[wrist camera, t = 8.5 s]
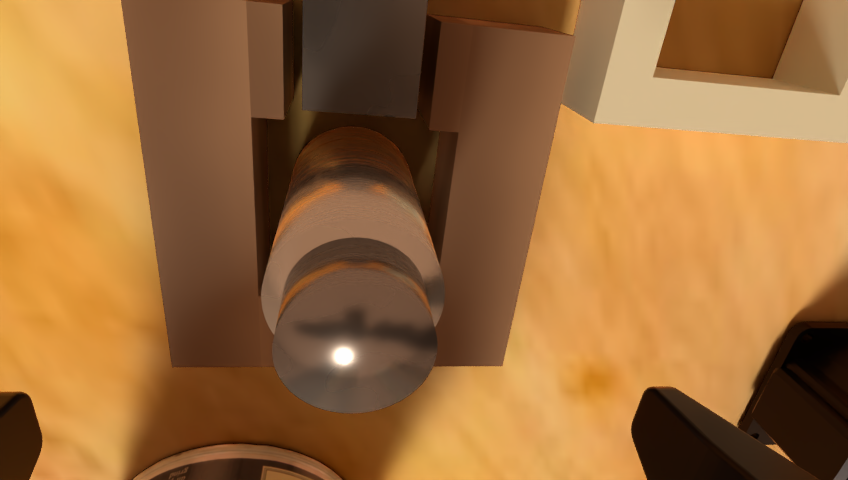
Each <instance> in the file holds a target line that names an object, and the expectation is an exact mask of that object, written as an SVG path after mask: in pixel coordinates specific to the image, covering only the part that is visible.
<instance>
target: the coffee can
mask: <svg viewBox="0 0 848 480" xmlns="http://www.w3.org/2000/svg"><path fill="white" fill-rule="evenodd" d="M133 480H343V479H341V478H340V477H339V476H338V475H337V474H336V473H335V472H333V471H332V470H331V469H330V468H328V467H326V466H325V465H323V464H322V463H320V462H318V461H316V460H314V459H312V458H310V457H308V456H305V455H302V454H299V453H297V452H294V451H290V450H286V449H281V448H277V447H274V446H268V445H252V444H222V445H213V446H207V447H202V448H197V449H193V450H189V451H186V452H182V453H179V454H176V455H173V456H170V457H168V458H165V459H163V460H161V461H159V462H157V463H156V464H154V465H152V466H151V467H149V468H147V469H146V470H144V471H143V472H142V473H140V474H139V475H137V476H136V477H135V478H134V479H133Z"/></svg>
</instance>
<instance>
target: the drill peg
mask: <svg viewBox="0 0 848 480" xmlns="http://www.w3.org/2000/svg"><path fill="white" fill-rule="evenodd" d="M444 300H445V285H444V279H443V275H442V271H441V268H440V265H439V262H438V259H437V256H436V252H435V249H434V246H433V243H432V240H431V237H430V233H429V230H428V227H427V224H426V221H425V218H424V214H423V211H422V208H421V205H420V202H419V198H418V195H417V192H416V189H415V186H414V183H413V179H412V176H411V173H410V170H409V167H408V164H407V162H406V159H405V157H404V156H403V154H402V152H401V151H400V150H399V148H398V147H397V146H396V145H395V144H394V143H393V142H392V141H391V140H389V139H388V138H387V137H385V136H384V135H382V134H380V133H378V132H376V131H373V130H371V129H367V128H363V127H356V126H346V127H338V128H335V129H331V130H328V131H326V132H324V133H322V134H320V135H318V136H317V137H315V138H314V139H313V140H311V141H310V142H309V143H308V144H307V145H306V146H305V147H304V149H303V150H302V152H301V153H300V155H299V157H298V158H297V161H296V163H295V166H294V170H293V173H292V177H291V181H290V184H289V188H288V192H287V195H286V199H285V202H284V206H283V210H282V213H281V217H280V221H279V224H278V228H277V232H276V235H275V239H274V243H273V246H272V250H271V253H270V257H269V261H268V264H267V268H266V272H265V275H264V279H263V284H262V291H261V302H262V309H263V313H264V316H265V319H266V322H267V324H268V326H269V328H270V330H271V331H272V333H273V334H274V339H273V344H272V357H273V363H274V367H275V370H276V372H277V374H278V376H279V378H280V379H281V381H282V382H283V384H284V385H285V386H286V387H287V388H288V389H289V391H290V392H292V393H293V394H294V395H295V396H296V397H298V398H299V399H301V400H303V401H304V402H306V403H308V404H310V405H312V406H314V407H317V408H320V409H323V410H327V411H332V412H338V413H364V412H370V411H375V410H379V409H383V408H385V407H388V406H391V405H393V404H395V403H397V402H399V401H401V400H403V399H404V398H406V397H407V396H409V395H410V394H411V393H413V392H414V391H415V390H416V389H417V388H418V387H419V386H420V385H421V384H422V383H423V382H424V381H425V379H426V378H427V377H428V375H429V373H430V372H431V370H432V368H433V365H434V363H435V360H436V355H437V347H438V343H437V335H436V331H435V326H436V325H437V323H438V321H439V319H440V316H441V313H442V310H443V306H444Z"/></svg>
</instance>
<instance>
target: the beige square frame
mask: <svg viewBox="0 0 848 480" xmlns="http://www.w3.org/2000/svg"><path fill="white" fill-rule="evenodd" d="M674 4H675V0H581V4H580V8H579V13H578V17H577V22H576V26H575V31H574V35H573V36H576V37H575V42H574V46H573V51H572V55H571V60H570V64H569V69H568V73H567V78H566V82H565V87H564V91H563V96H562V100H561V103H562V104H563V105H565V106H567V107H568V108H570V109H572V110H573V111H575V112H576V113H578V114H580V115H581V116H583V117H585V118H586V119H588V120H590V121H591V122H593V123H600V124H612V125H625V126H637V127H650V128H662V129H675V130H688V131H700V132H713V133H725V134H738V135H751V136H763V137H776V138H788V139H801V140H813V141H826V142H839V143H848V0H803V3H802V5H801V8H800V10H799V13H798V16H797V18H796V21H795V23H794V26H793V28H792V31H791V33H790V36H789V38H788V41H787V43H786V46H785V48H784V51H783V54H782V56H781V59H780V61H779V64H778V66H777V69H776V71H775V74H774V76H773V79H770V78H760V77H750V76H740V75H730V74H720V73H710V72H701V71H691V70H681V69H671V68H661V67H656V65H657V61H658V58H659V55H660V51H661V48H662V44H663V41H664V38H665V34H666V31H667V27H668V24H669V21H670V17H671V14H672V10H673V7H674Z"/></svg>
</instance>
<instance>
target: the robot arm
mask: <svg viewBox="0 0 848 480" xmlns="http://www.w3.org/2000/svg"><path fill="white" fill-rule="evenodd" d="M631 433H632V438H633V442H634V444H635V447H636V450H637V453H638V456H639V458H640V461H641V464H642V467H643V470H644V472H645V475H646V478H647V480H848V322H801V323H798V324H796V325H795V326H794V327H792V328H791V330H790V331H789V333H788V335H787V336H786V338H785V340H784V342H783V344H782V346H781V348H780V350H779V352H778V354H777V356H776V358H775V360H774V362H773V364H772V365H771V367H770V369H769V371H768V373H767V375H766V377H765V379H764V381H763V383H762V385H761V387H760V389H759V391H758V392H757V394H756V396H755V398H754V400H753V402H752V404H751V406H750V408H749V410H748V412H747V414H746V416H745V418H744V420H743V421H742V423H741V425H740V427H739V428H737V427H736V426H734V425H733V424H731V423H730V422H728V421H726V420H725V419H723V418H722V417H720V416H719V415H717V414H715V413H714V412H712V411H711V410H709V409H708V408H706V407H704V406H703V405H701V404H700V403H698V402H697V401H695V400H693V399H692V398H690V397H689V396H687V395H686V394H684V393H682V392H681V391H679V390H678V389H676V388H673V387H649V388H647V389H646V390H645V391H644V393H643V395H642V398H641V401H640V403H639V406H638V408H637V411H636V414H635V416H634V419H633V421H632V426H631ZM774 444H777V445H778V446H779V448H780V449H781V450H782V451H783V452H784V453H785V454H786V455H787V456H788V457H789V459H790V460H791V461H792V462H791V461H789V460H788V459H786V458H785V457H783V456H782V455H780V454H778V453H777V452H775V451H774V450H772V449H770V448H769V447H767V446H766V445H774ZM41 448H42V433H41V430H40V427H39V423H38V420H37V417H36V413H35V410H34V407H33V403H32V400H31V398H30V397H29V396H28V394H26V393H24V392H0V480H29V479H30V477H31V474H32V472H33V469H34V467H35V465H36V462H37V460H38V457H39V455H40V452H41Z"/></svg>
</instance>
